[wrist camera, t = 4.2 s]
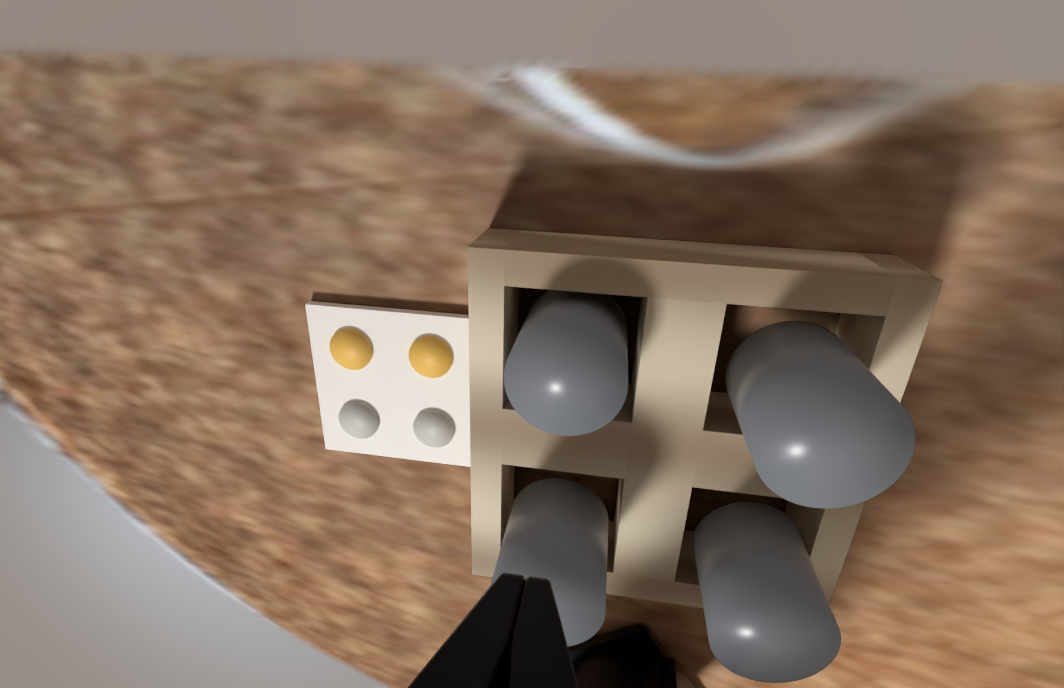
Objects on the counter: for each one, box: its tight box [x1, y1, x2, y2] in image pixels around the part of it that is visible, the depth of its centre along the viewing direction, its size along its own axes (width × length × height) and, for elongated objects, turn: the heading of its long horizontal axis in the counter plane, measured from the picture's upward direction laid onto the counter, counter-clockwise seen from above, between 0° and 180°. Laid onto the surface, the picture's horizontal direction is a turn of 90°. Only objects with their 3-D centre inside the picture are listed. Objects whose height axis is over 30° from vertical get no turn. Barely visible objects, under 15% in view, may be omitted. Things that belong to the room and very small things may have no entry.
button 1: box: [725, 321, 916, 509], centre depth 16 cm, size 4×4×4 cm
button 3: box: [693, 502, 841, 683], centre depth 18 cm, size 4×4×4 cm
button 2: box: [504, 290, 628, 436], centre depth 18 cm, size 4×4×4 cm
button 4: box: [490, 478, 609, 646], centre depth 19 cm, size 4×4×4 cm
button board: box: [468, 228, 943, 608], centre depth 21 cm, size 14×14×3 cm
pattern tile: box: [305, 301, 471, 467], centre depth 23 cm, size 7×7×1 cm
